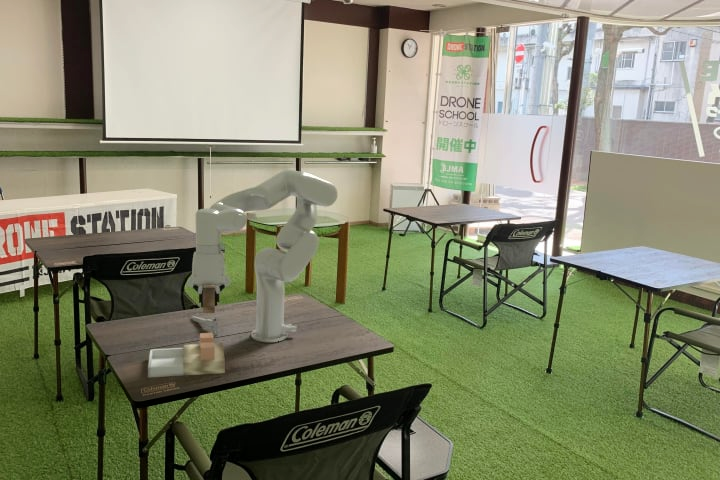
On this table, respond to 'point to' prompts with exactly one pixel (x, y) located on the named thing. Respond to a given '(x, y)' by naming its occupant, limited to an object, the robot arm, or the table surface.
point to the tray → (166, 362)
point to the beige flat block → (197, 366)
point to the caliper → (208, 323)
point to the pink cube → (206, 338)
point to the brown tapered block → (209, 298)
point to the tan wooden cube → (207, 351)
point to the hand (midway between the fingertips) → (209, 303)
